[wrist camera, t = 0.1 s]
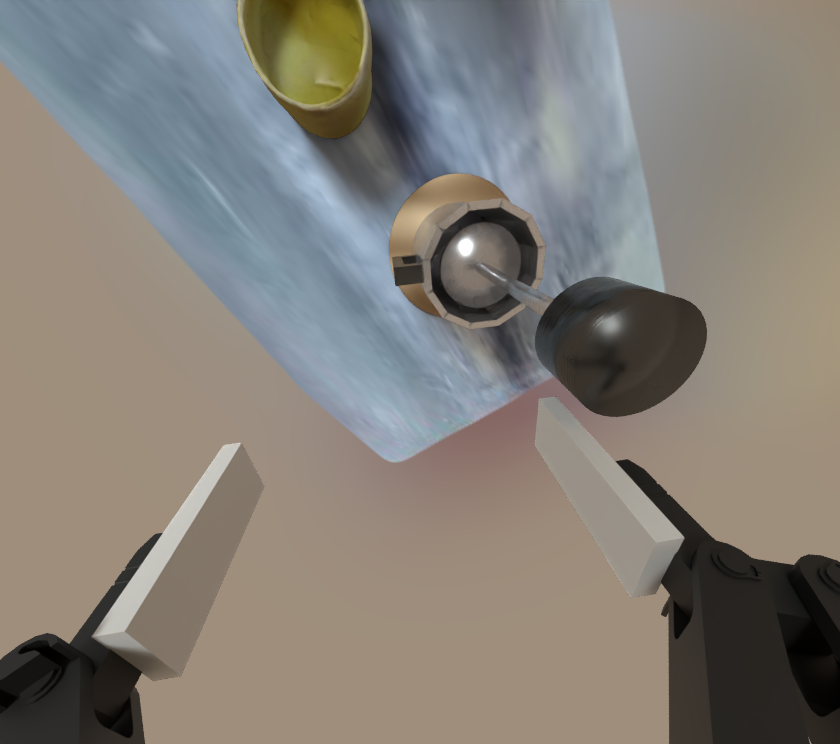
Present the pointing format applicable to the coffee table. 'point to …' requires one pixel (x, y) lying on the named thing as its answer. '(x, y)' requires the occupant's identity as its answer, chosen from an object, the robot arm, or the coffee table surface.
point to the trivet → (421, 206)
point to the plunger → (585, 324)
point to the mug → (312, 59)
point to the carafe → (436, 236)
